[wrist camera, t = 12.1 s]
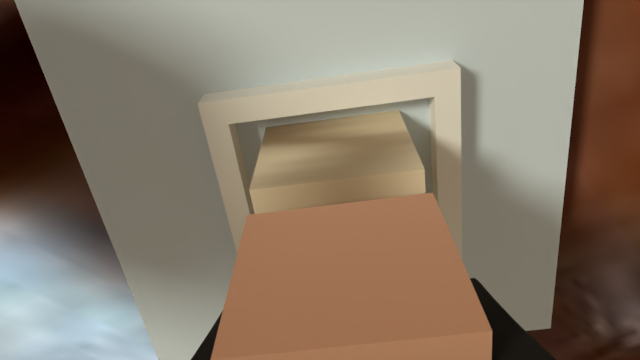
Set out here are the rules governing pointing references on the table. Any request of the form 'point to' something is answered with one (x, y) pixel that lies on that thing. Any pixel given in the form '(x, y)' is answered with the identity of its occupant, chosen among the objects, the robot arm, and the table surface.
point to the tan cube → (352, 287)
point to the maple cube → (336, 163)
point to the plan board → (303, 106)
